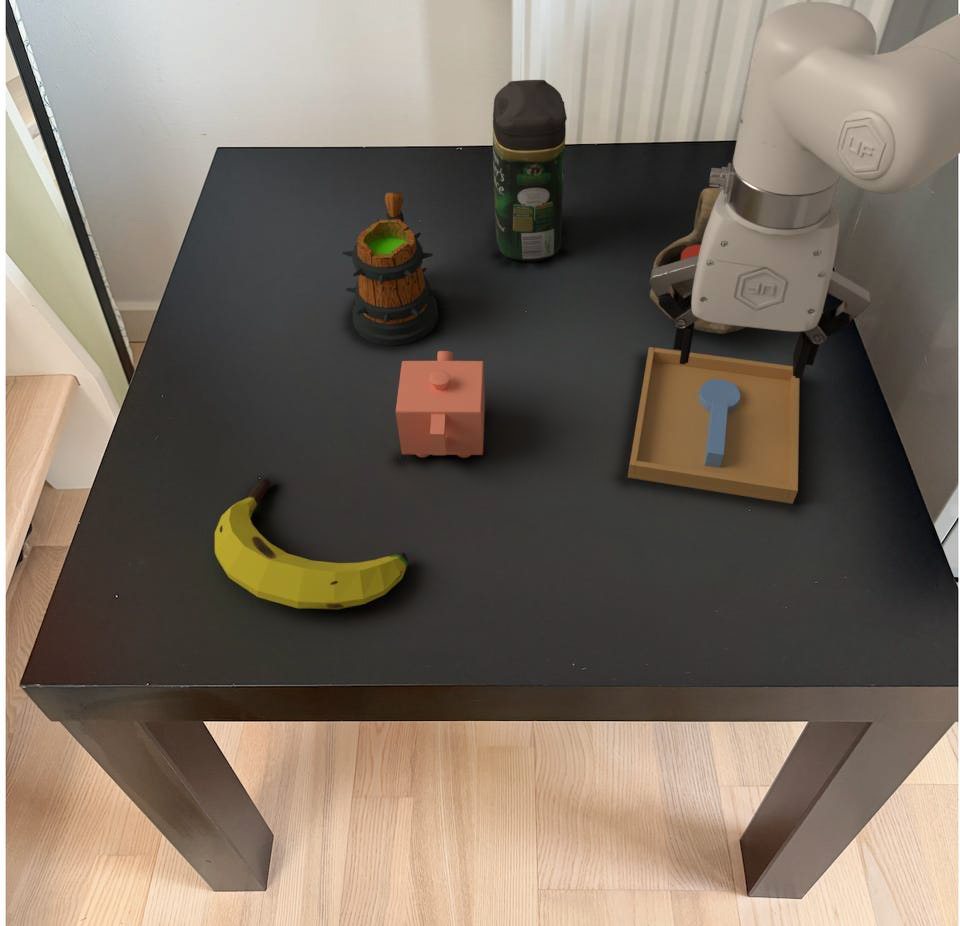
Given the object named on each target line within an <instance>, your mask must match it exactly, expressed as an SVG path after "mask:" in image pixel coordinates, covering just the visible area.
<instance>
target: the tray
mask: <svg viewBox="0 0 960 926" xmlns="http://www.w3.org/2000/svg"><path fill="white" fill-rule="evenodd" d="M647 351H648V352H647V355H646V363H645V369H644V375H643V382H642V386H641V394H640V400H639V406H638V412H637V417H636V423H635V429H634V436H633V442H632V447H631V454H630V460H629V466H628V473H627V479H635V480H641V481H646V482H654V483H659V484H667V485H672V486H678V487H685V488H692V489H695V490H696V489H697V490H703V491H709V492H717V493H722V494H728V495H735V496H742V497H746V498H747V497H748V498H753V499H759V500H765V501H772V502H777V503H778V502H779V503H784V504H790V505H793V504H794V502H795V499H796V497H797V494H798V491H799V447H800V445H799V443H800V442H799V437H800V434H799V433H800V378H795V376H793V365H787V364H778V363H771V362H764V361H757V360H749V359H742V358H734V357H726V356H720V355H712V354H706V353H705V354H704V353H698V352H691V351H690V354H689V360H688V363H686V364H680V356H681V350H677V349H668V348H659V347H652V346H649V347H648V350H647ZM713 379H722V380H726V381H729V382H731V383H733V384H734V385H735V386H736V387H737V388H738V389H739V392H740V400H739V404H738V406H737V407H736V409H734V410H733V411H731V412H729V413H727V425H726V436H725V448H724V456H723V460H722V463H721V467H720V468H718V467H711V466H705V465H704V463H705V453H706V443H707V433H708V423H709V414H710V411H709V410H707V409H705V408H704V407H703V406H702V405H701V403H700V401H699V392H700V388H701V386H702V385H703V384H704V383H705V382H707V381H709V380H713Z"/></svg>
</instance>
